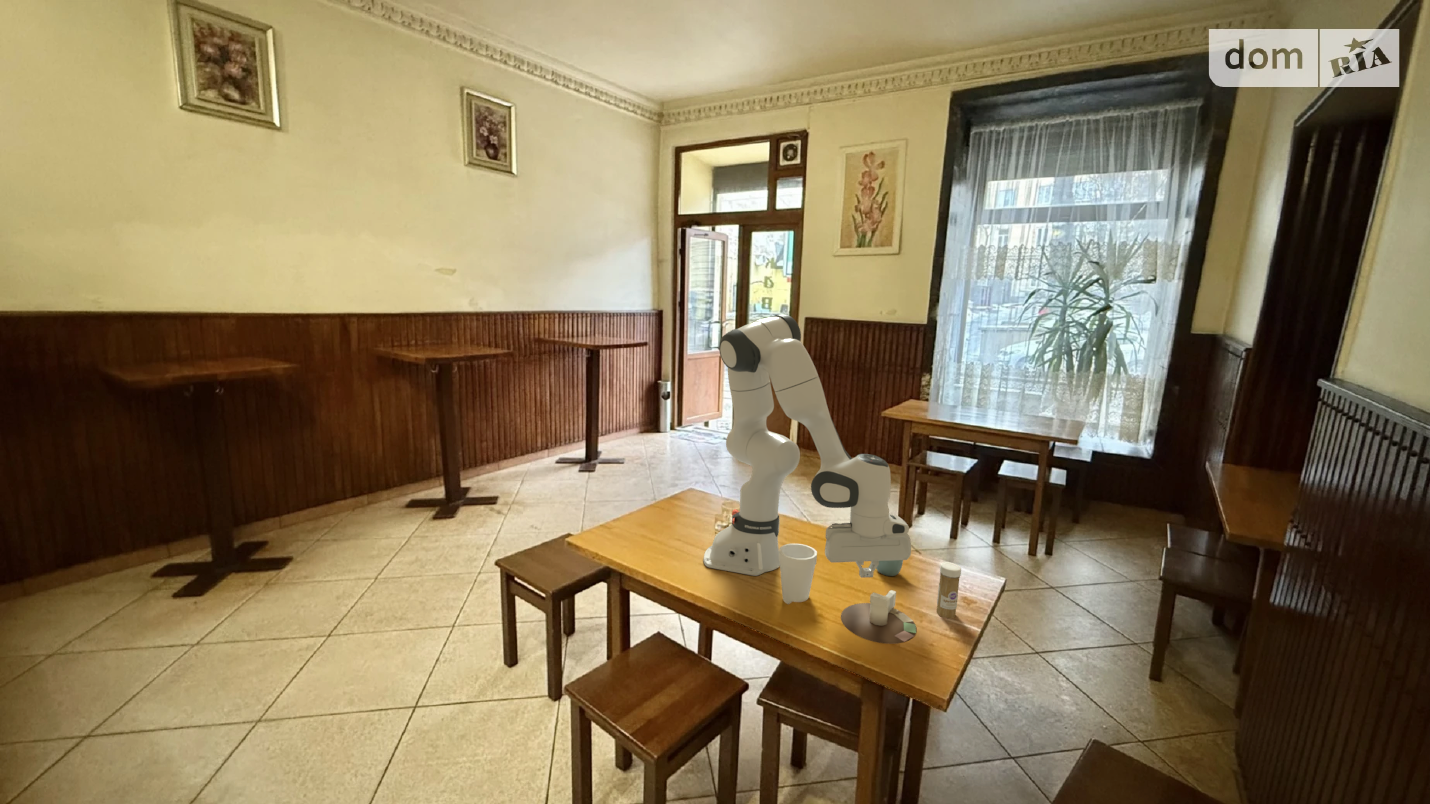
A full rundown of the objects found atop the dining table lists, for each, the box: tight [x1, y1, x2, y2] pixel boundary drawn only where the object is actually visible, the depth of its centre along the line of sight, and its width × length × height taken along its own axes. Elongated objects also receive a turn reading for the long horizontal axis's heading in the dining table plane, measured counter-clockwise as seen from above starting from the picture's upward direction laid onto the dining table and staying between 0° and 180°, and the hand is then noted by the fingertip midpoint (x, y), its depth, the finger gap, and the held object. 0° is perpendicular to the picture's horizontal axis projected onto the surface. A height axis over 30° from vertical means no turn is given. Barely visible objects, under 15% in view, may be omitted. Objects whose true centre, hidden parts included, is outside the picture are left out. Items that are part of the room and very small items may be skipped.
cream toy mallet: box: [869, 589, 897, 626], centre depth 133 cm, size 11×4×6 cm, turn 142°
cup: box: [875, 560, 904, 577], centre depth 157 cm, size 8×8×10 cm
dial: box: [840, 602, 918, 645], centre depth 131 cm, size 17×17×1 cm
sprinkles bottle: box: [936, 561, 962, 619], centre depth 134 cm, size 5×5×13 cm
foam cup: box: [779, 543, 818, 605], centre depth 141 cm, size 10×9×13 cm
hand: (866, 576), depth 136 cm, fingers closed
